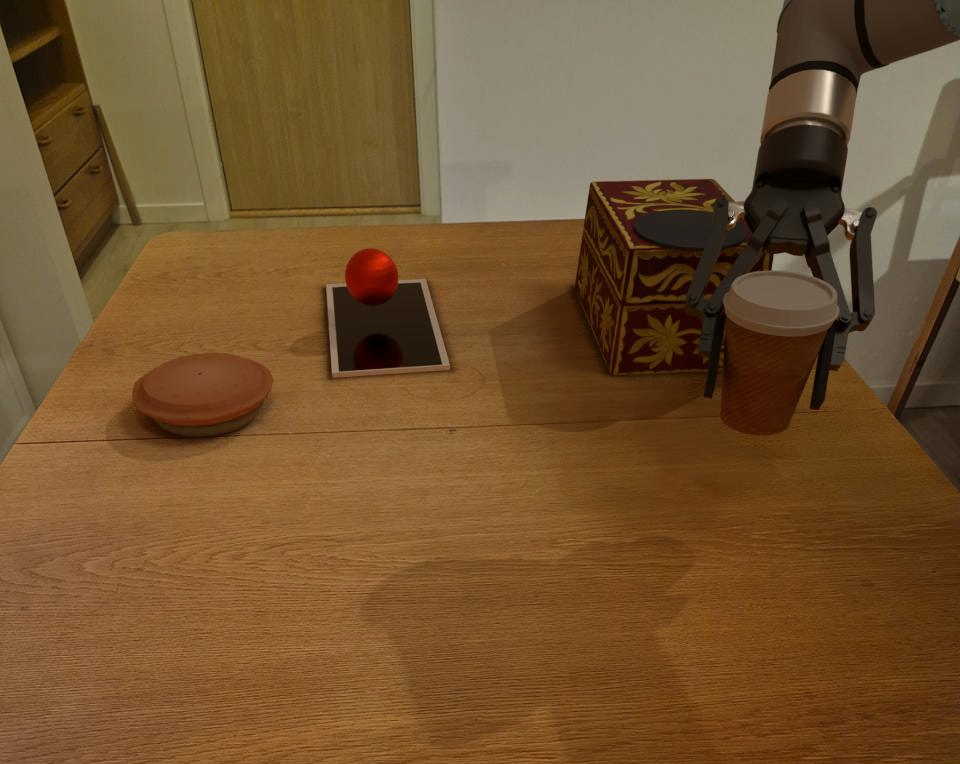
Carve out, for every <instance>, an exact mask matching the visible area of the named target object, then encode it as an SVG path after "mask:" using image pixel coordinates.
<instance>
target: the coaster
mask: <svg viewBox="0 0 960 764" xmlns="http://www.w3.org/2000/svg"><path fill="white" fill-rule="evenodd" d="M712 215H713V212H707V211H699V210H684V209H678V210H664V211H657V212H653V213H649V214H646V215H644V216H641V217H640V218H638V219H637V220H636V222H635V224H634V231H635V233H636V234H637V235H638V236H639V237H640V238H642V239H644V240H645V241H647V242H650V243H652V244H655V245H658V246H662V247H666V248H671V249H677V250H685V251H703V250H704V248H705V245H706V242H707V240H708V237H709V234H710V232H711V229H712ZM747 234H748V231H747V228H746V227H745V226H744V225H743V224H742V223H741V222H739V221H736V224H735V227H734V228H733V229H731V230H728V231H727V230H726V234H725V239H724V242H723V245H722V248H721V250H723V249H728V248H731V247H735V246H737V245H739V244H741V243H742V242H744V241H745V239H746V238H747Z"/></svg>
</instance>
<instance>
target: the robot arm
mask: <svg viewBox="0 0 960 764" xmlns="http://www.w3.org/2000/svg"><path fill="white" fill-rule="evenodd" d="M958 41H960V0H783V4H782V8H781V11H780V14H779V16H778V20H777V24H776V42H775V48H774V49H775V50H774V56H773V63H772V70H771V77H770V83H769V86H768V93H767V96H766V100H765V101H766V102H765V107H764V108H765V109H764V113H763V120H762V125H761V132H760V139H759V140H760V146H759V147H758V151H757V157H756V163H755V169H754V175H753V181H752V186H751V191H750V193H749V194H748V196H747V197H746V198H745V200H740V201H739V200H738V201H735V202H728V200H727V198H725V197H718V198H717V199H716V200H715V203H714V208H713V215H712V229H711V232H710V234H709V237H708V240H707V242H706V245H705V248H704V250H703V253H702V255H701V258H700V261H699V263H698V266H697V269H696V271H695V274H694V277H693V279H692V282H691V284H690V287H689V290H688V292H687V295H686V300H685V308H684V310H685V313H686V314H687V315H690V316H692V315H694V316H696V317H698V318H699V319H700V320H701V321H702V329H701V335H700V341H699V347H698V354H699V357H705V358H710V361H709V367H708V372H706V373H707V374H706V379H705V380H706V381H705V386H704V392H703V399H704V398H705V399H713V396H714V392H715V388H716V382H717V375H718V372H719V371H718V364H719V358H720V352H721V346H722V340H723V334H724V328H725V322H726V316H727V315H721V313H722V312H723V310H724V309H725V307H724V304H723V299H724V296H725V294H726V293H727V292H729V290H730V288H731V285H732V283H733V282H734V280H735V279H736V278H738V277H740V276H741V275H744V274H747V273H749V272H750V271H751V269H752V268H753V266H754V265H755V264H756V263H757V262H758V261H759V259H760V258H761V256H762V255H763V253H764V252H765V250H766V251H767V254H774V255H780V254H788V255H791V256H795V257H804V259H805V263H806V265H807V267H808V268H809V269H810V271H811V276H812V277H816V278H818V279H821V280H823V281H825V282H826V283H828V284H830V285H831V286H832V287H833V288H834V289H835V290H836V292H837V305H838V307H839V315H838V317H837V319H836V320H835V321H834V322H833V324H832V325H831V327H829V328H828V330H827V333H826V335H825V338H824V341H823V343H822V345H821V348H820V350H819V353H818V356H817V358H816V365H815V371H814V377H813V385H812V390H811V397H810V402H809V410H813V411H819V410H820V408H821V407H822V405H823V404H824V402H825V400H826V394H827V389H828V383H829V376H830V371H833V372H838V371H839V369H840V367H841V366H842V365H843V362H844V361H845V357H846V352H847V346H848V339H849V334H851V333H853V332H860V333H861V332H864V331H866V330H867V329H868V327H869V326H870V324H871V323H872V322H873V319H874V317H875V315H876V305H875V287H874V284H875V283H874V267H873V251H872V250H873V249H872V232H873V229H874V226H875V222H876V219H877V217H878V211H877V209H876V208H875V207H873V206H868V207H865V208H864V209H863V211H860V210H855V209H850V208H847V207H846V205H845V203H844V200H843V197H842V191H843V184H844V177H845V174H846V173H845V172H846V166H847V159H848V153H849V147H848V145H849V143H850V141H851V137H852V136H851V134H852V130H853V129H852V128H853V124H854V123H853V121H854V114H855V108H856V101H857V97H858V90H859V86H860V81H861V77H862V75H864V74H867V73H868V72H872V71H875V70H878V69H881V68H884V67H887V66H889V65H891V64H894V63H896V62H899V61H903V60H905V59H906V60H907V59H909V58H912V57H915V56H918V55H921V54H924V53H927V52H931V51H933V50H936V49H938V48H942V47H944V46H947V45H950V44H952V43H955V42H958ZM741 217H744V219H745V221H746V223H747V225H748V226H749V228H750V230H751V232H752V233H753V234H752V236H751V237H750V239H749V241H748V243H747V245H746V246H745V248H744V249H743V251H742V252H741V254H740V255H739V257H738V258H737V260H736V261H735V262H734V264H733V265H732V267H731V268H730V270H729V271H728V273H727V274H726V276H725V277H724V279H723V280H722V282H721V283H720V284H719V286H718V287H717V289H716V290H715V292H714V293H713V295H712V296H711V298H710V299H709V300H708V299H705V298H703V295H704V293H705V290H706V288H707V285H708V282H709V280H710V277H711V274H712V272H713V269H714V266H715V264H716V261H717V259H718V256H719V253H720V251H721V248H722V245H723V242H724V239H725V234H726V230H727V231H728V230H731V229H733V228H734V227H735V224H736V221H737V220H738V219H739V218H741ZM838 226H842V227H843V229H844V236H845V238H846V239H847V240H848V241H850V244H849V269H850V271H849V272H850V273H849V274H850V288H851V289H850V290H851V307H852V308H851V309H852V311H851V310H850V307H849V305H848V301H847V298H846V296H845V292H844V289H843V286H842V283H841V280H840V277H839V274H838V270H837V267H836V264H835V262H834V259H833V256H832V255H833V254H832V253H831V244H830V240H829V237H828V236H829V235H830V234H831V233H832V232H833V231H834V230H835V229H836V228H837V227H838Z"/></svg>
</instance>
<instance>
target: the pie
mask: <svg viewBox="0 0 960 764" xmlns="http://www.w3.org/2000/svg"><path fill="white" fill-rule="evenodd" d="M274 380H275V379H274V377H273V375H272V372H271V370H270V369H268V368H267V367H266V366H265V365H264V364H262V363H261V362H258V361H255V360H252V359H250V358H248V357H247V358H246V357H242V356H240V355H236V354H230V353H224V352H223V353H222V352H202V353H193V354H189V355H183V356H179V357H176V358H173V359H171V360H168V361H165V362H163V363H161V364H160V365H158V366H156V367H154V368H153V369H152V370H149V371H148V372H146V373H145V374H143V375H142V376H140V378H137V380H135V381H134V384H133V388H132V391H131V392H132V393H131V394H132V395H131V397H132V404H133V405H134V406H135V408H136V409H137V410H138V411H139V412H140V413H142V414H143V415H145V416H147V417H149V418H151V419H152V420H153V421H154V422H155V423H156V424H157V425H159V426H160V428H162V429H163V430H164V431H167V432H169V433H170V434H173V435H177V436H182V437H185V438H189V437H190V438H206V437H217V436H220V435H225V434H229V433H232V432H235V431H237V430H239V429H242V428H244V427H246V426H247V425H248V424H250V423H251V422H253V421H254V420H255V419H256V417H257V416H258V415H259V413H260V411H261V409H262V407H263V405H264V403H265V400H266V399H267V398H268V395H269V394H270V392H271V390H272V387H273V385H274V382H275V381H274Z"/></svg>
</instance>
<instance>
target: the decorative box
mask: <svg viewBox="0 0 960 764" xmlns="http://www.w3.org/2000/svg"><path fill="white" fill-rule="evenodd" d="M718 197H725V198H727V200H728V202H736V201H735V200H734V199H733V197H732V196H731V195H730V194H729V193H728V192H727V191H726V190H725V189H724V187H722V186H721V184H719V182H718V181H717V180H716V179H715V178H685V179H683V178H680V179H678V178H677V179H640V180H639V179H637V180H635V179H634V180H601V181H600V180H599V181H597V180H596V181H590V183H589V187H588V193H587V201H586V207H585V214H584V222H583V230H582V234H581V235H582V236H581V242H580V248H579V255H578V262H577V269H576V274H575V283H574V290H575V293H576V295H577V299H578V301H579V303H580V306H581V309H582V310H583V312H584V315H585V317H586V320H587V322H588V325H589V327H590V329H591V331H592V334H593V337H594V339H595V341H596V344H597V345H598V348H599V351H600V353H601V355H602V358H603V360H604V362H605V364H606V367H607V370H608V371H609V373H610V375H611V376H628V375H630V376H631V375H632V376H633V375H655V374H656V375H657V374H682V373H705V372H706V373H708V367H709V361H710V358H705V357H699V354H698V347H699V341H700V335H701V329H702V321H701V320H700V319H699V318H698V317H696V316H694V315H692V316H690V315H687V314H686V313H685V310H684V308H685V300H686V295H687V292H688V290H689V287H690V284H691V282H692V279H693V277H694V274H695V271H696V269H697V266H698V263H699V261H700V258H701V255H702V253H703V251H685V250H677V249H671V248H666V247H662V246H658V245H655V244H652V243H650V242H647V241H645V240H644V239H642V238H640V237H639V236H638V235H637V234H636V233H635V231H634V224H635V222H636V220H637V219H638V218H640V217H641V216H644V215H646V214H649V213H653V212H657V211H664V210H678V209H684V210H699V211H707V212H713V208H714V203H715V200H716V199H717V198H718ZM737 221H739V222H741V223H742V224H743V225H744V226H745V227H746V228H747V231H748V234H747V238H746V239H745V241H744V242H742V243H741V244H739V245H737V246H735V247H731V248H728V249H723V250H721V251H720V253H719V256H718V259H717V261H716V264H715V266H714V269H713V272H712V274H711V277H710V280H709V282H708V285H707V288H706V290H705V293H704V295H703V298H705V299H708V300H709V299H710V298H711V296H712V295H713V293H714V292H715V290H716V289H717V287H718V286H719V284H720V283H721V282H722V280H723V279H724V277H725V276H726V274H727V273H728V271H729V270H730V268H731V267H732V265H733V264H734V262H735V261H736V260H737V258H738V257H739V255H740V254H741V252H742V251H743V249H744V248H745V246H746V245H747V243H748V241H749V239H750V237H751V236H752V234H753V233H752V232H751V230H750V228H749V226H748V225H747V223H746V221H745V219H744V217H741V218H739V219H738V220H737ZM774 256H775V254H767V251H766V250H765V252H764V253H763V255H762V256H761V258H760V259H759V261H758V262H757V263H756V264H755V265H754V266H753V268H752V269H751V271H750V272H749V273H751V272H757V271H772V270H773V264H774V258H775V257H774ZM721 315H726V313H725V309H724V310H723V312H722V313H721ZM725 333H726V322H725V328H724V334H723V340H722V346H721V352H720V358H719V364H718V371H717V372H723V363H724V347H725Z"/></svg>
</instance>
